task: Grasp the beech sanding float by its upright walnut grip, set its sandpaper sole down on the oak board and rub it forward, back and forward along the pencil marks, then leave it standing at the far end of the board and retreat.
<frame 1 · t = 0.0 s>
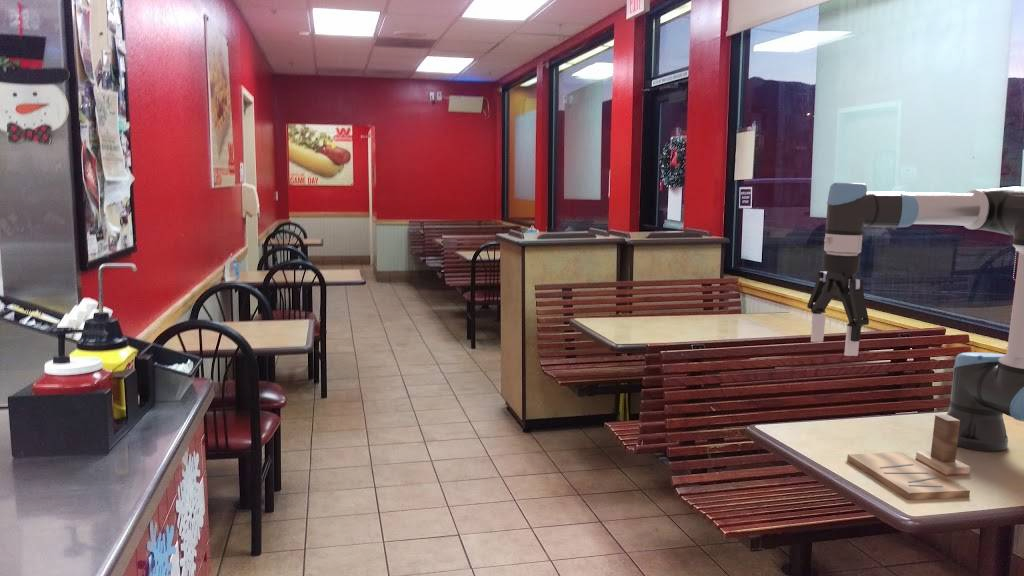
hand: (833, 348, 172), 28 cm above the table, fingers open, 13 cm apart
float: (941, 467, 178), on the table
board: (904, 477, 171), on the table
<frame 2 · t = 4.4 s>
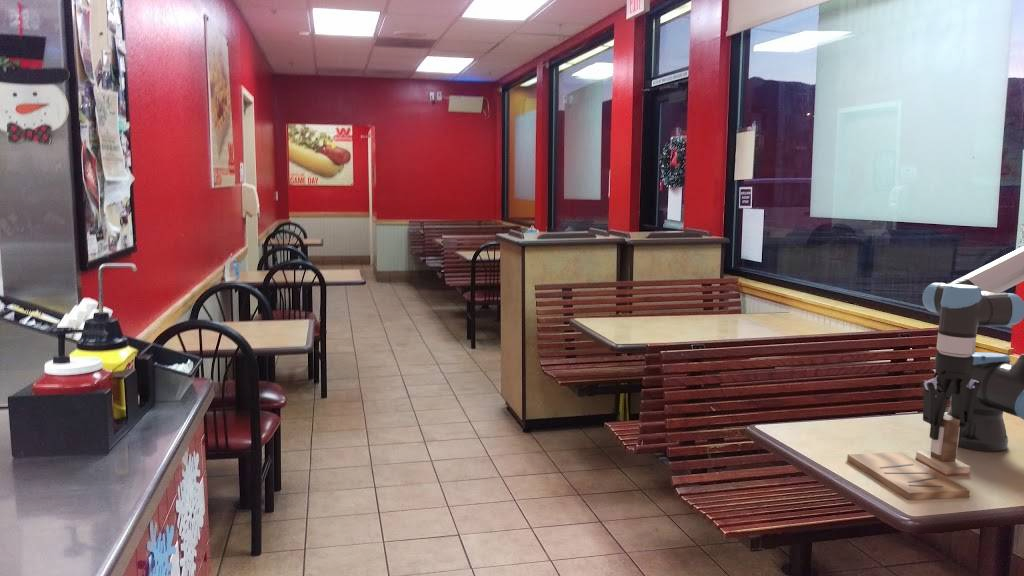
hand: (943, 452, 178), 4 cm above the table, fingers closed on float, 3 cm apart
float: (941, 467, 178), on the table, touching gripper
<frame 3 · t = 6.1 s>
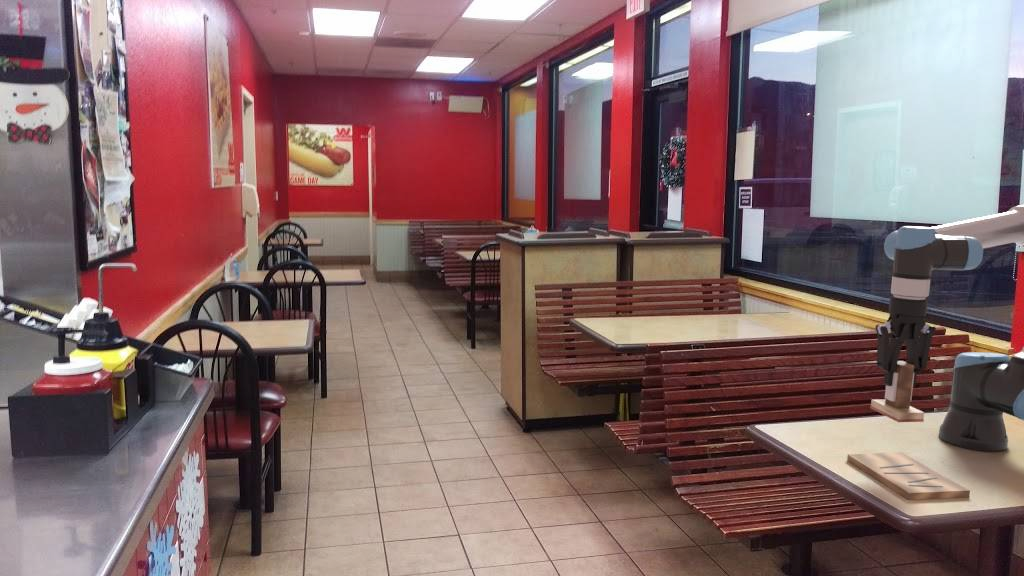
hand: (897, 399, 174), 17 cm above the table, fingers closed on float, 3 cm apart
float: (896, 414, 174), point 13 cm above the table, touching gripper
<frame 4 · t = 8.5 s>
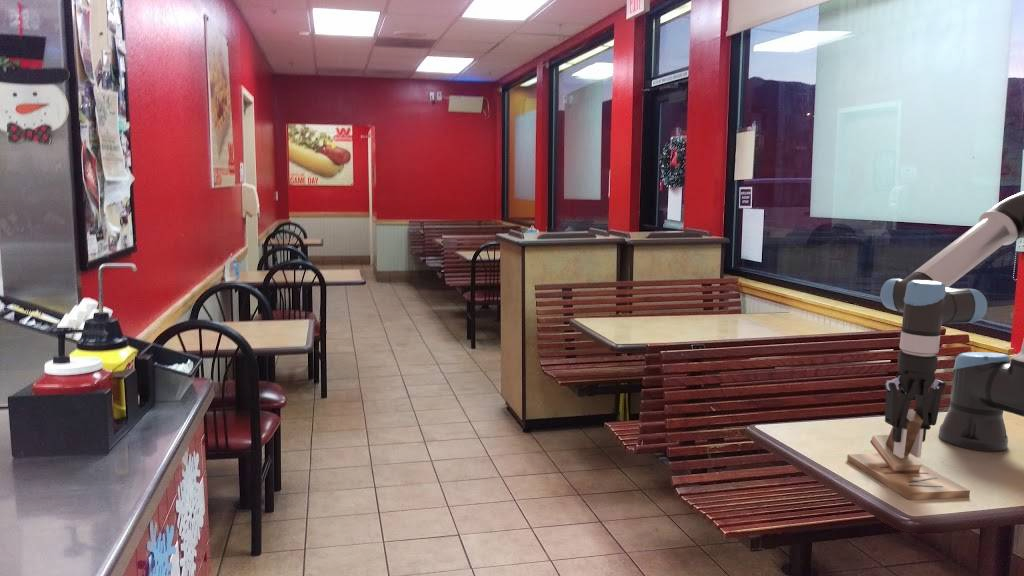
hand: (906, 455, 170), 5 cm above the table, fingers closed on float, 3 cm apart
float: (893, 456, 175), point 3 cm above the table, tilted 21°, touching board, gripper
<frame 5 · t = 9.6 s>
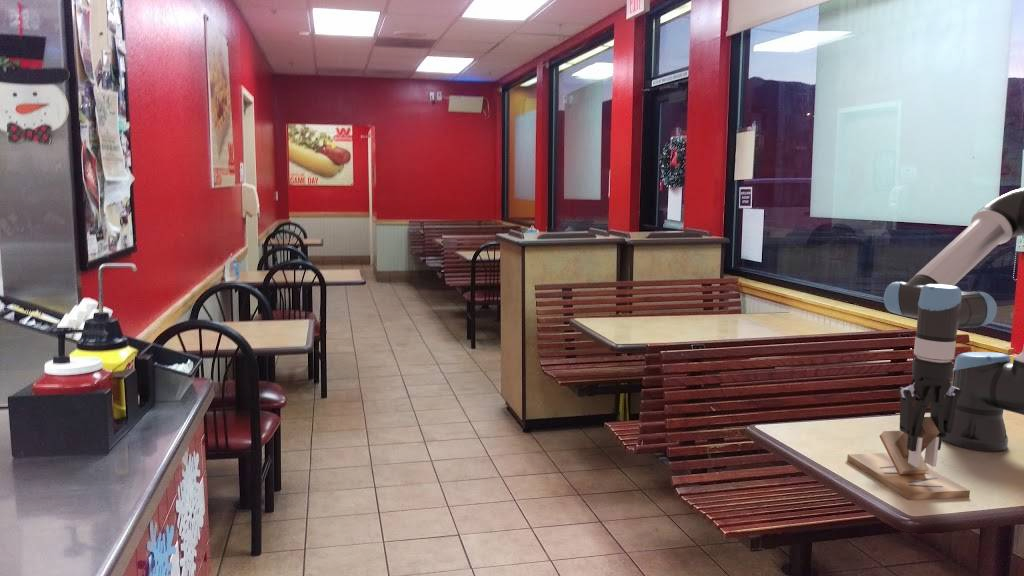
hand: (921, 464, 166), 5 cm above the table, fingers closed on float, 3 cm apart
float: (901, 455, 172), point 5 cm above the table, tilted 38°, touching gripper
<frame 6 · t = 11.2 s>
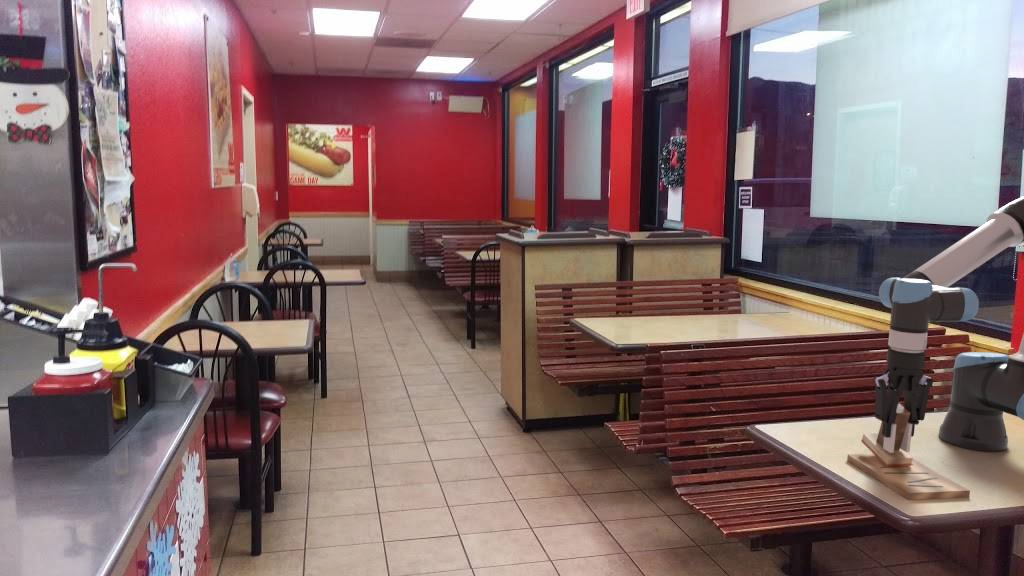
hand: (896, 450, 174), 5 cm above the table, fingers closed on float, 3 cm apart
float: (885, 453, 178), point 3 cm above the table, tilted 14°, touching gripper
when the fingers open (5 cm above the table, at t = 13.8 s): float drops 2 cm, resting on board.
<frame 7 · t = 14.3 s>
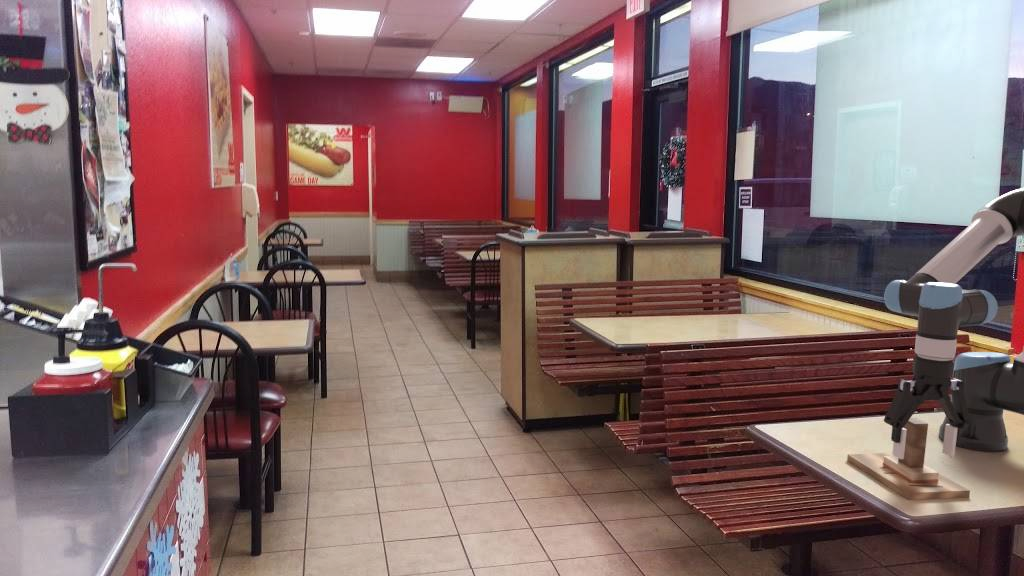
hand: (923, 456, 165), 7 cm above the table, fingers open, 11 cm apart
float: (909, 473, 170), point 2 cm above the table, touching board
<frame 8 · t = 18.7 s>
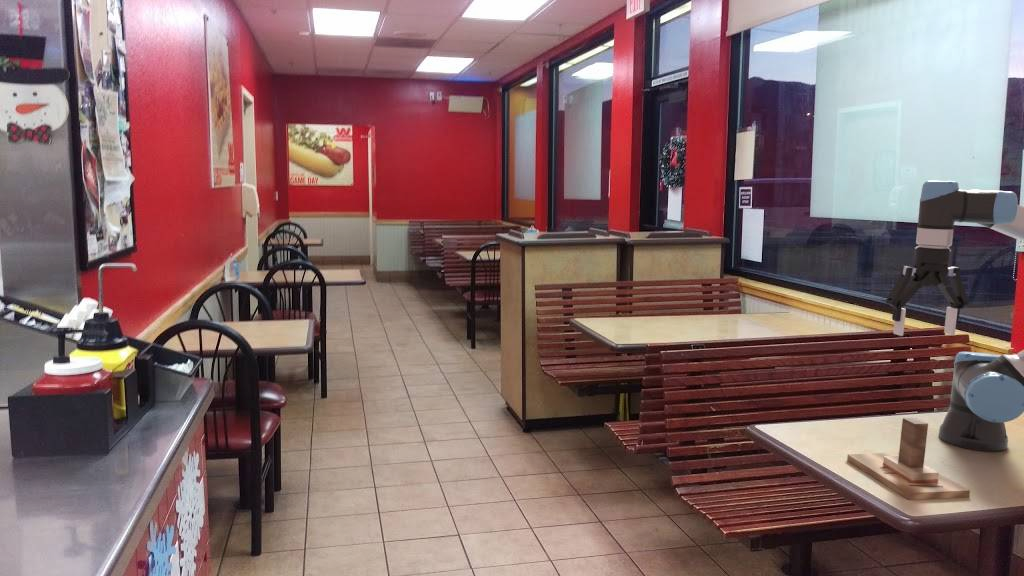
hand: (923, 334, 186), 29 cm above the table, fingers open, 13 cm apart
nothing on the table moved.
at the end: float inside the target area (3.6 cm from its centre), point 1.6 cm above the table; float touching board; the gripper is holding nothing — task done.
